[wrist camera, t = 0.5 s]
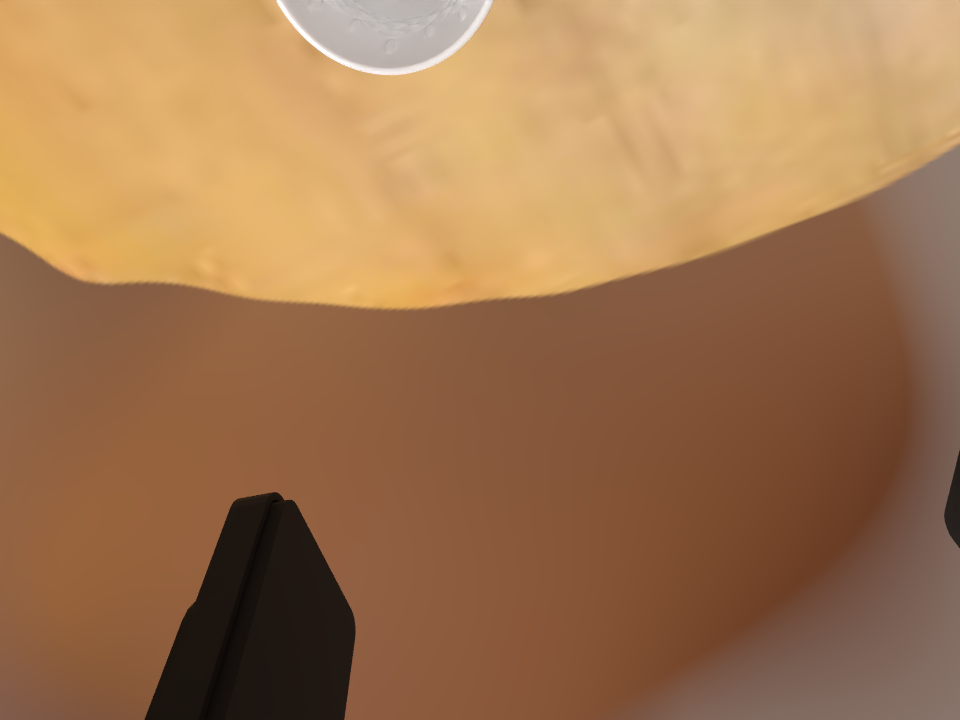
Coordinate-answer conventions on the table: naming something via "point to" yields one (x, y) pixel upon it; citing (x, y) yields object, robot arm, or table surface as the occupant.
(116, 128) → the table surface
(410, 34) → the white cup
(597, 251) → the table surface
